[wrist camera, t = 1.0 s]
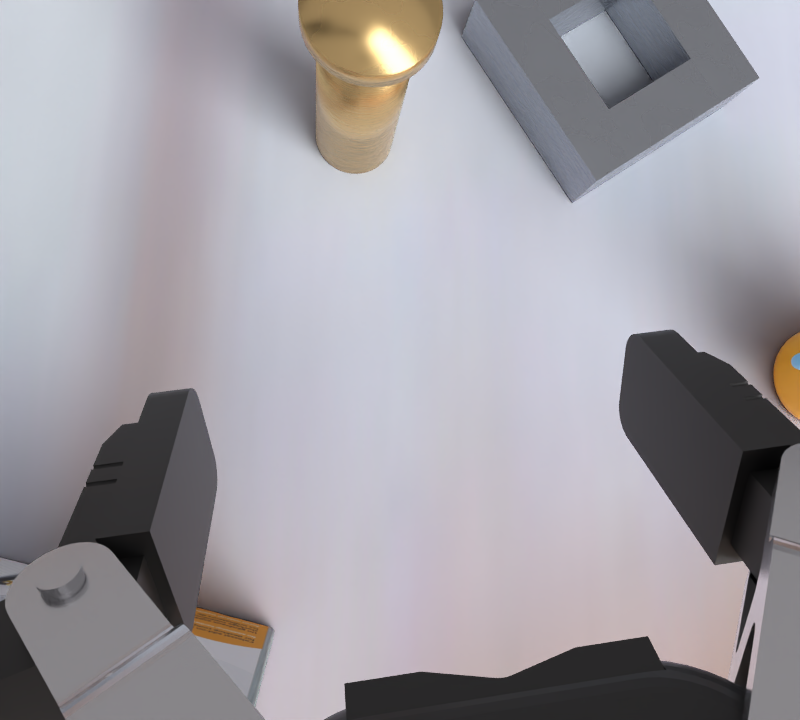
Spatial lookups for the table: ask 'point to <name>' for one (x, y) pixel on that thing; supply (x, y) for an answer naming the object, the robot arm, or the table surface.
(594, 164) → the jig
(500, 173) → the table surface
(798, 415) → the tube with loops
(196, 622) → the hard drive box
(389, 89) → the gold capped peg
